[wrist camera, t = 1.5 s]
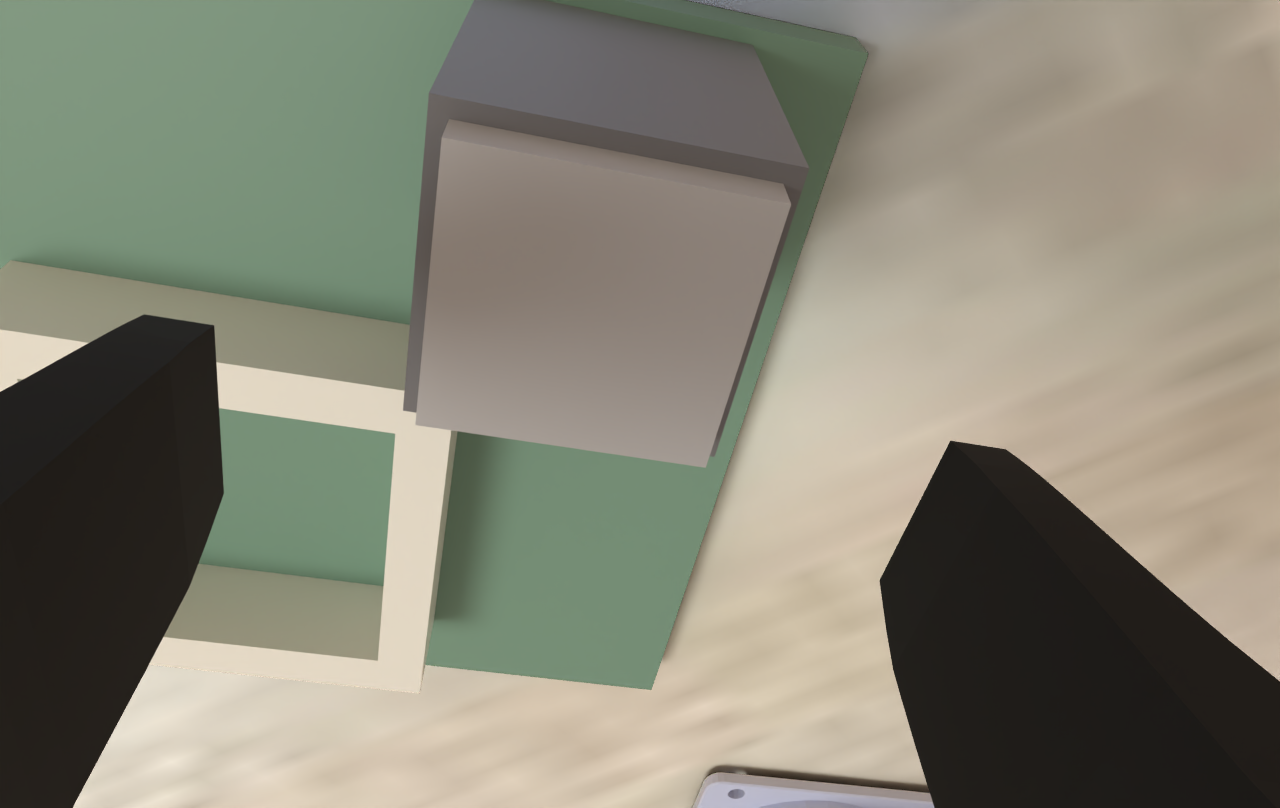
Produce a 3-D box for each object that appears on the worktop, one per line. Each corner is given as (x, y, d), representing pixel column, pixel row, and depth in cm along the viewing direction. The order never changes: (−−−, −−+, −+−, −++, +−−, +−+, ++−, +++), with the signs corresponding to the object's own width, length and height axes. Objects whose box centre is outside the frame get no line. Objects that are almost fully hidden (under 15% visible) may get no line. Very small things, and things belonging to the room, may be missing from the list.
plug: (752, 44, 16) (818, 187, 11) (688, 281, 18) (717, 483, 13) (480, -15, 15) (420, 110, 10) (454, 239, 18) (395, 436, 13)
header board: (855, 37, 17) (868, 53, 16) (649, 659, 26) (651, 689, 25) (-170, -188, 14) (-217, -183, 13) (17, 586, 24) (-5, 617, 23)
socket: (469, 334, 19) (454, 398, 17) (433, 620, 24) (419, 693, 22) (10, 260, 18) (-58, 320, 16) (71, 577, 22) (25, 651, 21)
